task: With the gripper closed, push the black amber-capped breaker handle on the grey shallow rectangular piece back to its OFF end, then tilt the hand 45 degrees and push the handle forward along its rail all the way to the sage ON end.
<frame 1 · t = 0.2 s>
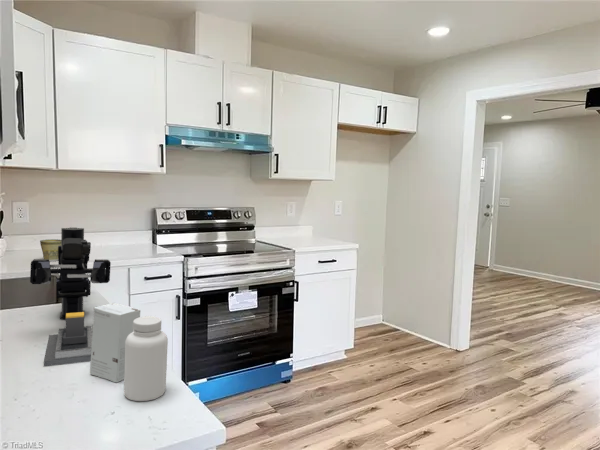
hand: (71, 278, 109), 17 cm above the counter, tool horizontal, fingers open, 9 cm apart
skincare box: (114, 375, 95), on the counter
ceramic cup: (53, 260, 218), on the counter
pill bottle: (145, 393, 88), on the counter
breaker handle: (75, 327, 109), point 5 cm above the counter, slide at 3.0 cm
grey shallow rectangular piece: (74, 349, 108), on the counter
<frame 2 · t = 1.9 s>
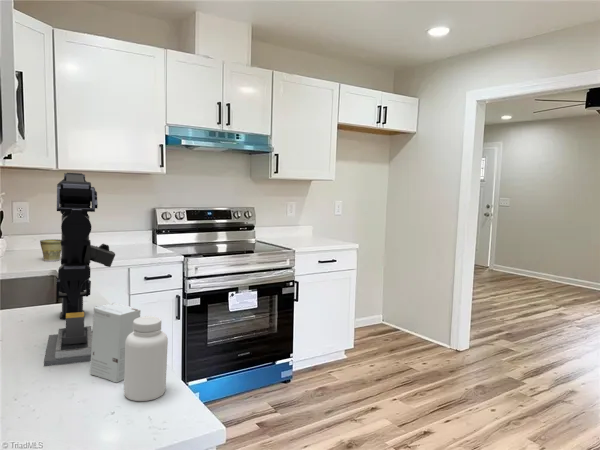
hand: (74, 301, 103), 13 cm above the counter, tool pointing down, fingers open, 7 cm apart
nothing on the counter moved.
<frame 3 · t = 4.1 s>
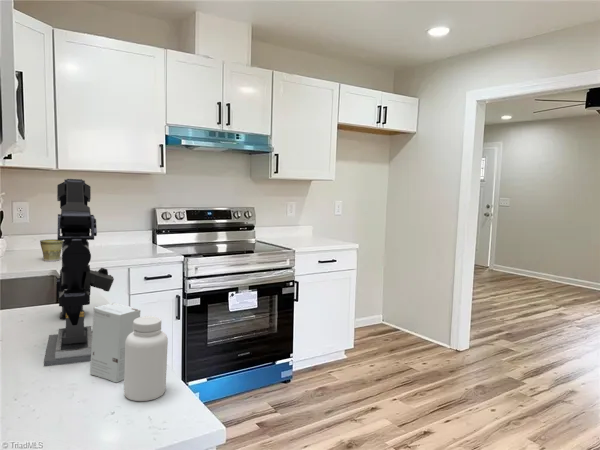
hand: (74, 324, 107), 6 cm above the counter, tool pointing down, fingers closed
breaker handle: (75, 327, 109), point 5 cm above the counter, slide at 2.7 cm, touching gripper
everything else where it was.
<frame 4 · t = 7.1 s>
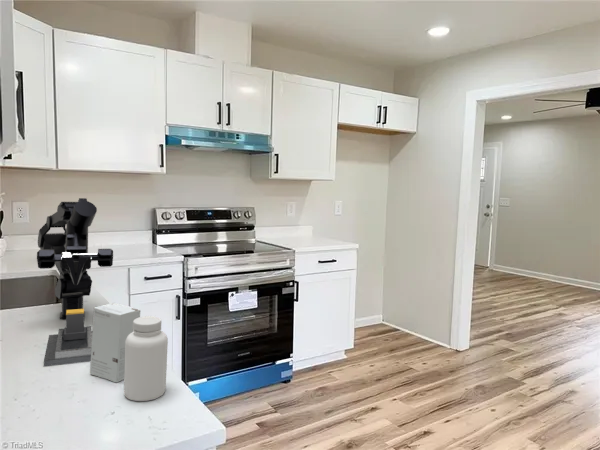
hand: (75, 284, 118), 13 cm above the counter, tool tilted 45°, fingers closed
breaker handle: (75, 323, 112), point 5 cm above the counter, slide at 0.0 cm
everything else where it was.
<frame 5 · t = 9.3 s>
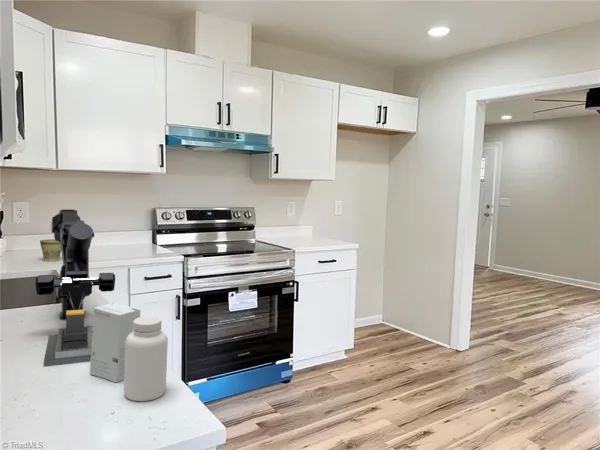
hand: (76, 311, 113), 8 cm above the counter, tool tilted 45°, fingers closed, pressing on breaker handle
breaker handle: (75, 324, 111), point 5 cm above the counter, slide at 0.7 cm, touching gripper
everything else where it was.
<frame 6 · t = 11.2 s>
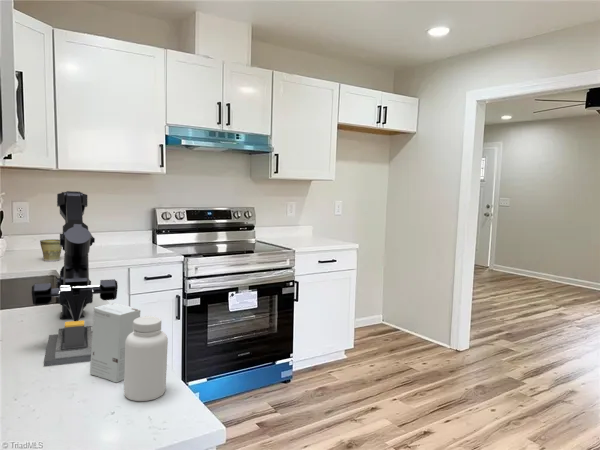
hand: (76, 321, 104), 8 cm above the counter, tool tilted 50°, fingers closed, pressing on breaker handle
breaker handle: (74, 337, 103), point 5 cm above the counter, slide at 10.2 cm, touching gripper
everything else where it was.
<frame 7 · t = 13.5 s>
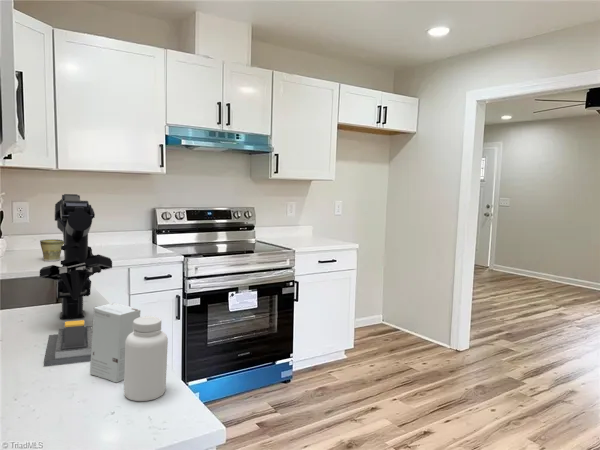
hand: (75, 299, 116), 10 cm above the counter, tool tilted 25°, fingers closed
breaker handle: (74, 336, 103), point 5 cm above the counter, slide at 10.0 cm
everything else where it was.
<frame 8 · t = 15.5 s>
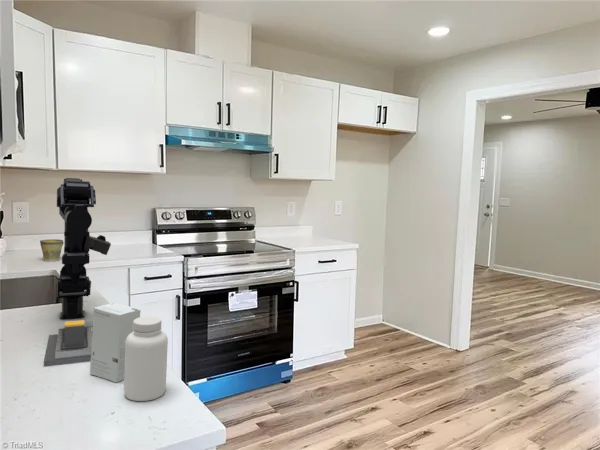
hand: (75, 284, 119), 13 cm above the counter, tool pointing down, fingers closed
nothing on the counter moved.
at the end: breaker handle slide at 10.0 cm; breaker handle touching nothing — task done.
